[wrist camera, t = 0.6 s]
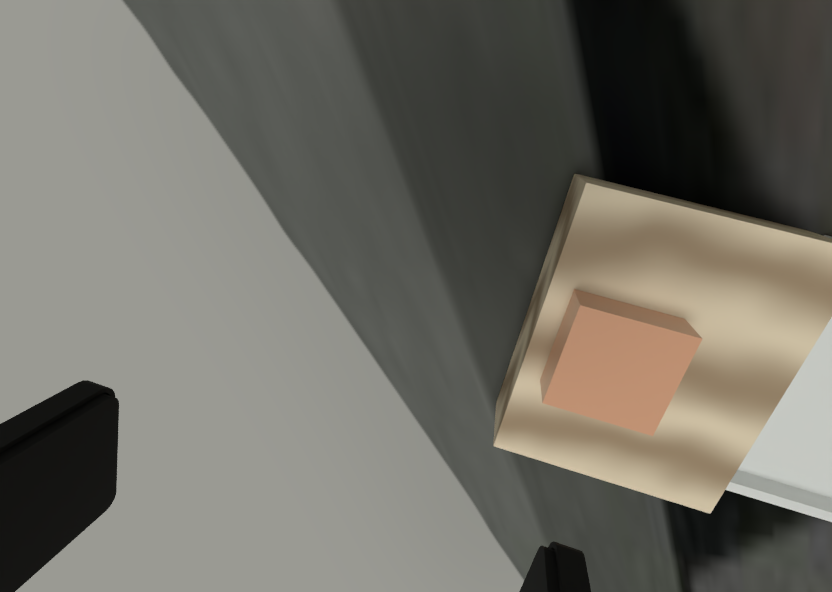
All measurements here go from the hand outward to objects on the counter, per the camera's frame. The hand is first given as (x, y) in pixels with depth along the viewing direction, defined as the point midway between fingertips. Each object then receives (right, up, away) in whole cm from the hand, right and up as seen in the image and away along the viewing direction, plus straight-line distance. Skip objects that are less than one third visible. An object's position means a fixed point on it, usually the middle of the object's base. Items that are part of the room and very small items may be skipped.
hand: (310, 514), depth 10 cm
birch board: (+19, +2, +26) cm, 33 cm away
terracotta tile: (+15, +1, +21) cm, 26 cm away
